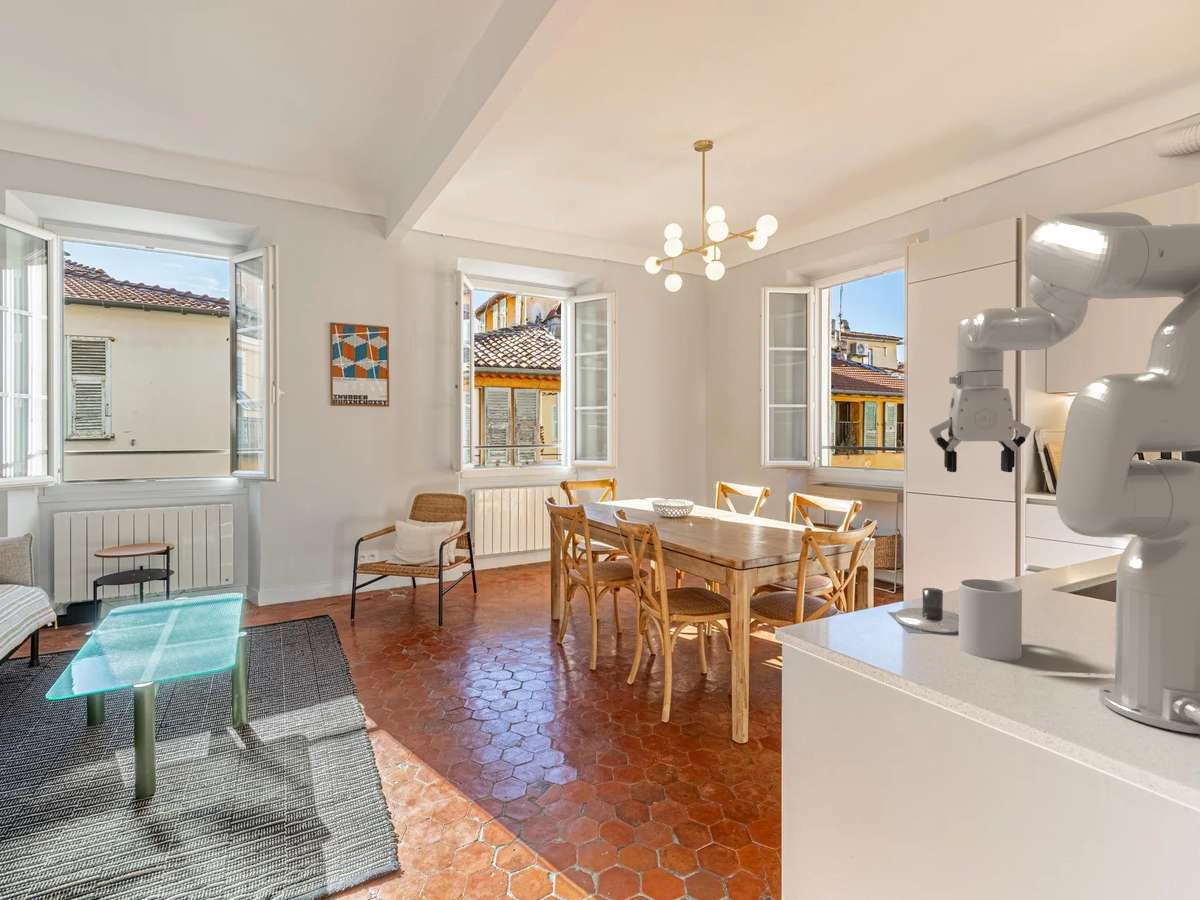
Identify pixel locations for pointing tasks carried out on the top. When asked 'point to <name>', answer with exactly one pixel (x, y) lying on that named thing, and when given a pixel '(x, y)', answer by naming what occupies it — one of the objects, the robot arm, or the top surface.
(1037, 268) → the robot arm
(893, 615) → the mat
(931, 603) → the lid
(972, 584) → the mug
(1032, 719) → the top surface
